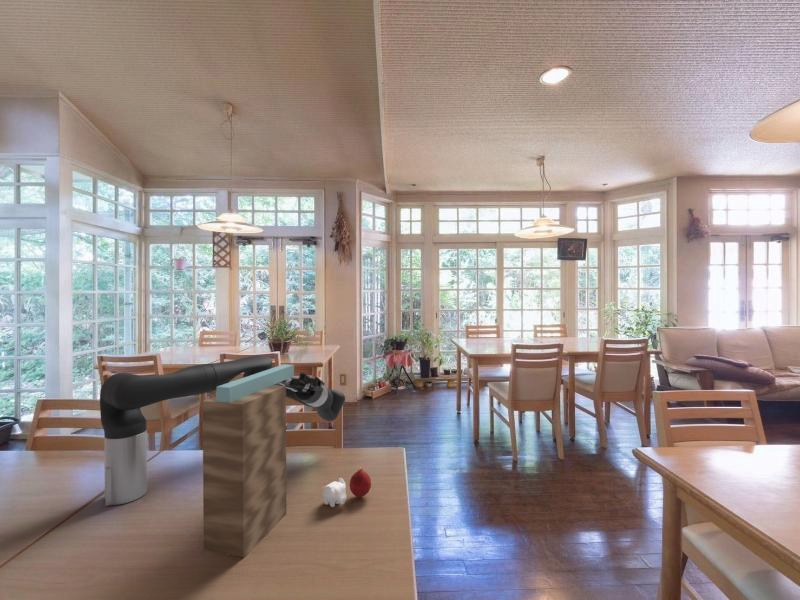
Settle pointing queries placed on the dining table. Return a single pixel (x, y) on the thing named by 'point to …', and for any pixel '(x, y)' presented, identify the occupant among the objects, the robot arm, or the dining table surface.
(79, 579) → the dining table surface
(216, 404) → the pedestal
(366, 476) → the onion
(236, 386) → the rail
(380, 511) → the dining table surface
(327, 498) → the elephant figurine
